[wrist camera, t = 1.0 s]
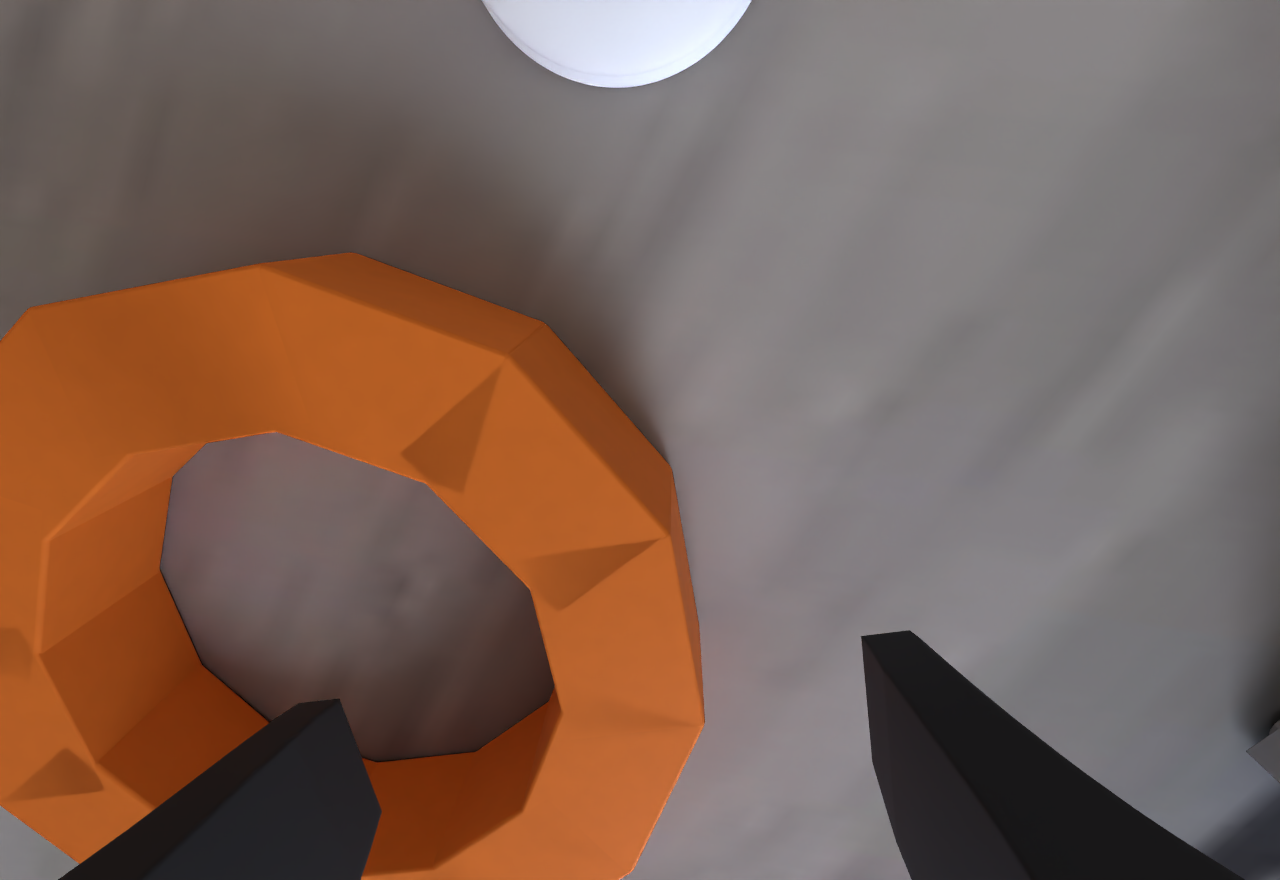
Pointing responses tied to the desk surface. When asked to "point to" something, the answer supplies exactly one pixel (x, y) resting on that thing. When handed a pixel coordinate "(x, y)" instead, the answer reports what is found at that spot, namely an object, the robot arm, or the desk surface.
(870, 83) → the desk surface
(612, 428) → the ring
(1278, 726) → the tall grey leaning box
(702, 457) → the desk surface
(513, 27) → the chess piece
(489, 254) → the desk surface
